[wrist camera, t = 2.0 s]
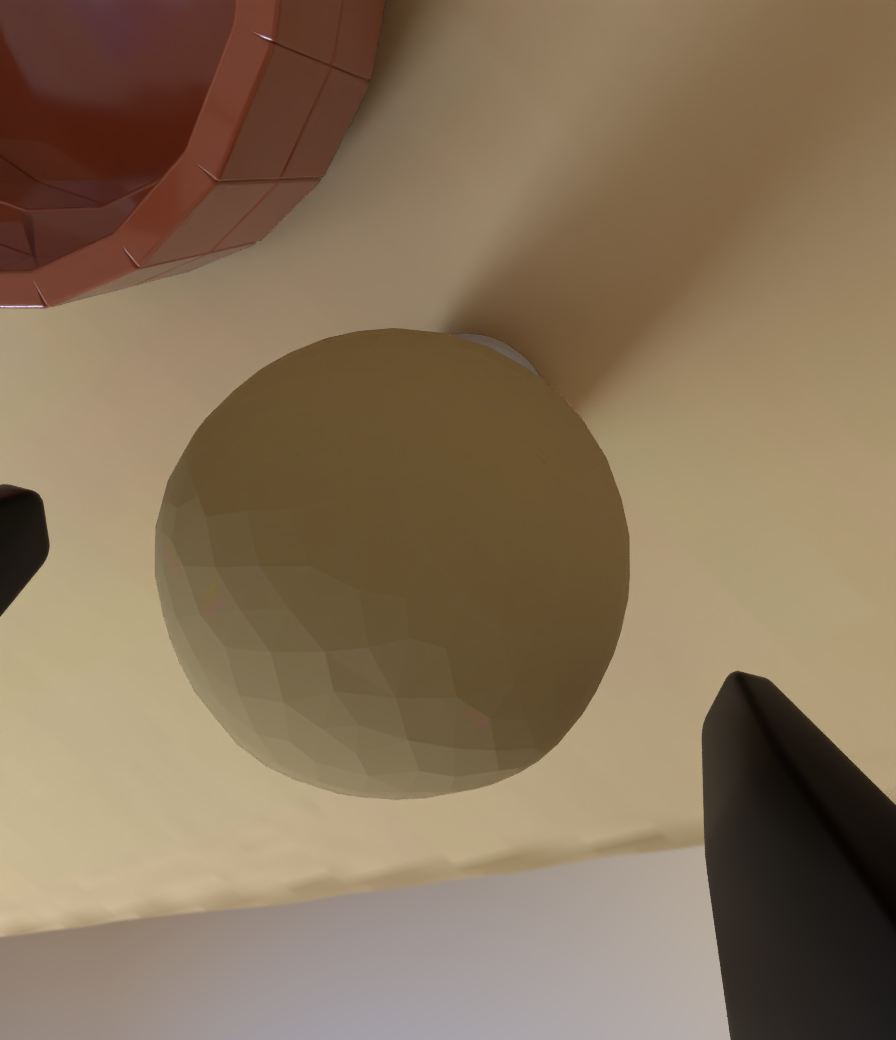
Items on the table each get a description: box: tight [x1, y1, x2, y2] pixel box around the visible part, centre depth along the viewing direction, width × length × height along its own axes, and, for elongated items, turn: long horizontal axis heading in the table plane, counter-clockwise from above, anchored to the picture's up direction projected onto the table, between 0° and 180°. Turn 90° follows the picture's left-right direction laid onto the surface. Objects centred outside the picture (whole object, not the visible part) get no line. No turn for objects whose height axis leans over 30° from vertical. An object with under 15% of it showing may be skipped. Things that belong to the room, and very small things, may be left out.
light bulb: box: [155, 328, 630, 800], centre depth 11 cm, size 6×6×10 cm
